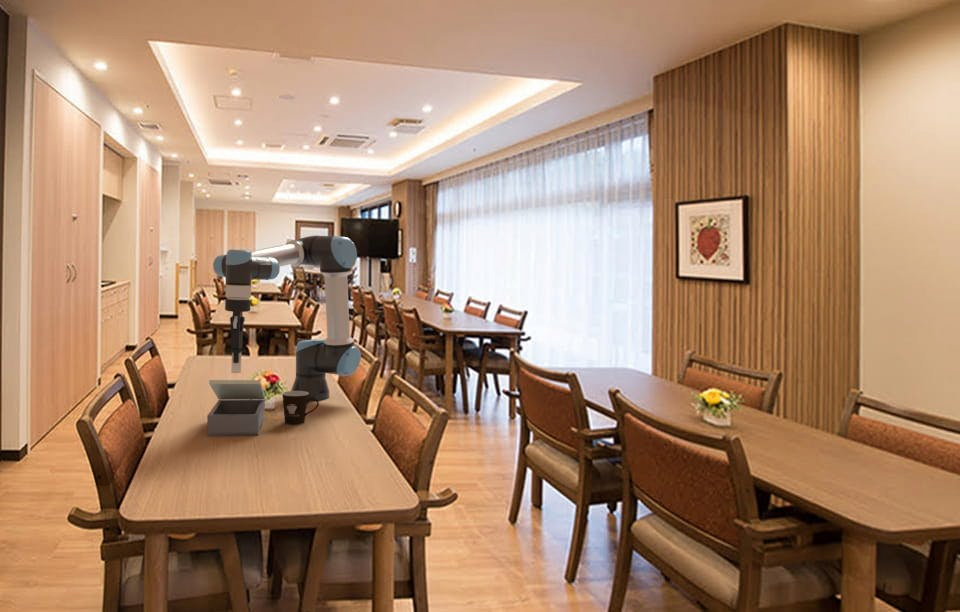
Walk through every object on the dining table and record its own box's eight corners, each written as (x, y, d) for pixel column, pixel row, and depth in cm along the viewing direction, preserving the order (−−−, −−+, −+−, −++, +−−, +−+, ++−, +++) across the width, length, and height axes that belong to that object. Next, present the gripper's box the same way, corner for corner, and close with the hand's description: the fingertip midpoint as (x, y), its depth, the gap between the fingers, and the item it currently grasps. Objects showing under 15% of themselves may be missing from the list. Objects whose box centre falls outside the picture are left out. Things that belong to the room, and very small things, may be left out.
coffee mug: (276, 422, 224) (276, 393, 223) (294, 418, 232) (295, 389, 231) (302, 428, 219) (302, 398, 218) (319, 423, 226) (320, 394, 226)
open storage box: (264, 418, 229) (264, 399, 229) (258, 435, 208) (258, 415, 207) (218, 418, 226) (218, 399, 225) (207, 436, 204) (207, 415, 204)
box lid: (264, 399, 229) (265, 396, 229) (259, 383, 209) (260, 380, 209) (218, 399, 225) (218, 396, 226) (209, 383, 205) (209, 380, 206)
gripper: (228, 296, 214) (226, 369, 216) (222, 299, 202) (220, 376, 203) (252, 297, 216) (250, 369, 218) (248, 300, 204) (246, 376, 205)
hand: (236, 372), depth 211 cm, fingers closed
